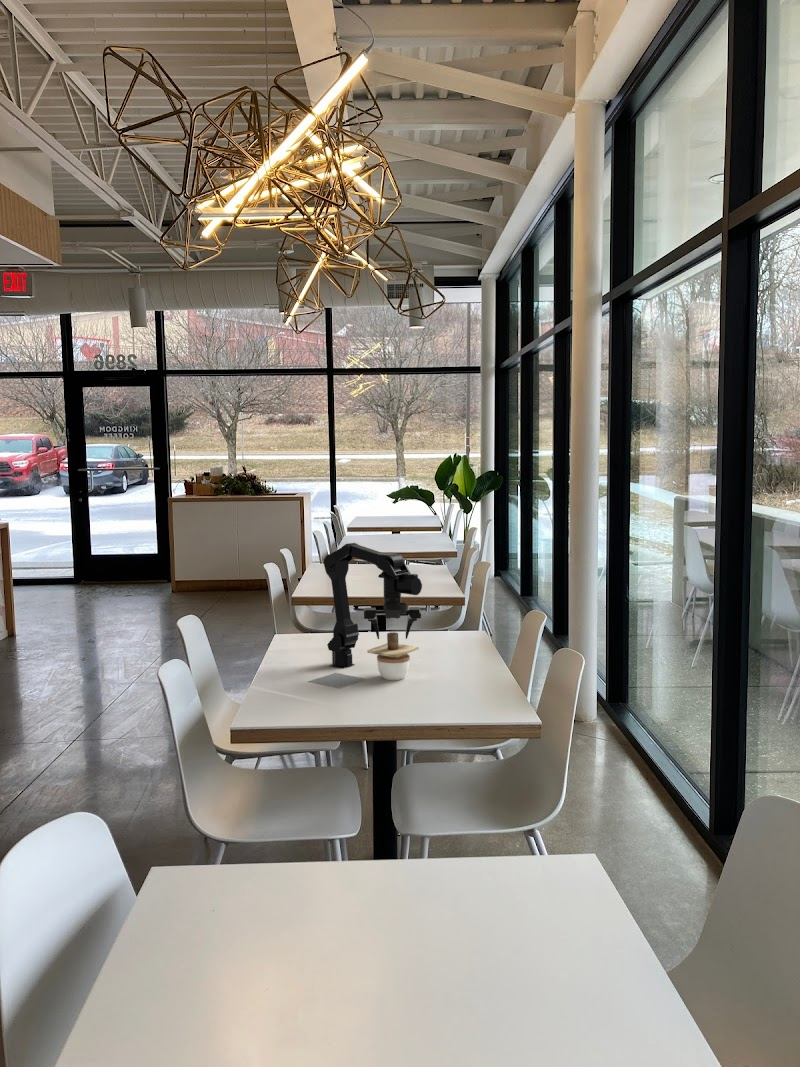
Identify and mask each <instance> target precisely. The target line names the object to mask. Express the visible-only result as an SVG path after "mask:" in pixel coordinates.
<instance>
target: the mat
mask: <svg viewBox="0 0 800 1067" xmlns="http://www.w3.org/2000/svg"><path fill="white" fill-rule="evenodd" d="M366 679H367V678H366V677H365V678H364V677H360V676H354V675H349V674H343V673H338V672H334V673H330V674H327V675H325V676H320V677H317V678H315V679H311V680H308V681H307V683H312V684H315V685H322V686H325V687H331V688H335V689H342V688H346V687H349V686H352V685H356V684H357V683H360V682H364V681H366ZM363 680H364V681H363Z"/></svg>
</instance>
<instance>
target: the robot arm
mask: <svg viewBox="0 0 800 1067" xmlns="http://www.w3.org/2000/svg"><path fill="white" fill-rule="evenodd" d="M354 558H356V559H359V560H362V561H364V562H368V563H370V564H373V565H374V566H376V567H377V568H378V569H379V570H381V571H382V572H380V574H379V575H378V576H377V577H378V578H380V579H383V609H378V610H377V609H376V607H364V609H363V619H364V620H367V622H371V624H372V626H373V628H374V631H375V634H376V638H377V640H379V639H380V631H379V625H378V617H385V619H400V618H401V617H402V616H403V617H407V619H406V628H405V639H406V640H407V639H408V637H409V633H410V632H411V631H410V630H411V628H412V625H413V623H414V622H417V621H418V619H422V610H421V608H420V607H419V606H418V607H417V606H416V607H414V606H412V607H411V606H410V607H408V609H407V603H406V602H402V594H404V595H410V596H418V595H420V593H421V592H422V588H423V583H422V581H421V579H420V578H419V576H418V575H419V574H418V573H411V571H410V569H409V568H408V566H407V564H406V562H405V561H404V558H403V555H402V554H400V553H396V552H382V551H378V550H375V549H372V548H369V547H366V546H364V545H360V544H358V543H356V542H351V543H348V542H347V543H345V544H344V545H342V546H341V547H340V548H338V549H336V550H334V551H333V552H331V553H329V554H327V555H325V557H324V558H323V565H324V566H323V567H324V570H325V573H326V575H327V576H328V577H329V579H330V580H331V588H332V597H333V598H332V599H333V604H334V612H335V619H336V620H335V624H334V627H333V631H332V632H333V633H332V634H333V635H332V638H331V639H330V640H329V641H328V643H327V649H328V651H331V656H332V657H331V659H332V660H331V661H332V663H331V664H330V665H329V667H332V668H336V669H341V670H342V669H347V668H350V667H353V666H355V663H353V653H352V649H354V648H355V647H356V645H357V644H356V643H357V642H358V640H359V636H360V633H359V626H358V623H357V622H356V623H354V621H353V620H352V618H351V612H350V605H349V596H348V589H347V588H348V587H347V581H346V579H347V574H348V572H349V564H350V562H352V561H353V560H354Z"/></svg>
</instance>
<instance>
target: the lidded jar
mask: <svg viewBox="0 0 800 1067" xmlns="http://www.w3.org/2000/svg"><path fill="white" fill-rule="evenodd" d="M410 657H411V656H410V654H409V653H408V654H405V655H403V656H400V657H397V658H395V657H389V656H383V655H378V654H377V655H376V660H377V661H376V662H377V670H378V672H379V675H380V676H381V677H382V678H383V679H384V680H386V681H399V680H400V679H401V680H403V679H404V678H405V677H406V676H407V674H408V672H409V670H410V669H409V668H410V660H411V659H410ZM401 680H400V681H401Z"/></svg>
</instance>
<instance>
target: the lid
mask: <svg viewBox="0 0 800 1067" xmlns="http://www.w3.org/2000/svg"><path fill="white" fill-rule="evenodd" d="M386 633H387V632H386ZM386 638H387V639H386V640H387V642H386V643H384V644H382V645H379V646H375V647H373V648H371V649H368V650H367V651H366V652H367V653H368V654H374V655H377V656H378V655H383V656H389V657H395V658H397V657H400V656H403V655H405V654H408V655H409V654H411V653H413V652H415V651H418V650H419V648H420V647H419V646H414V645H409V644H408V645H407V644H404V643H403V644H401V643H399V633H398V632H396V631H395V632H394V631H393V632H388V633H387V635H386Z"/></svg>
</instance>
